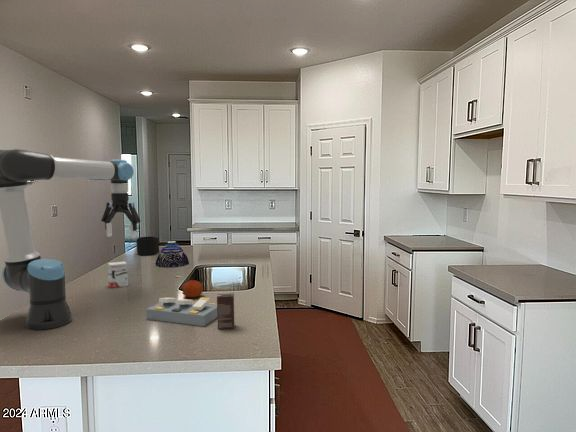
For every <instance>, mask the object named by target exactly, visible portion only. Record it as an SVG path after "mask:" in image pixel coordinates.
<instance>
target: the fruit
mask: <svg viewBox="0 0 576 432" xmlns="http://www.w3.org/2000/svg"><path fill="white" fill-rule="evenodd" d="M203 291H204V287H203V284H202V283H201V282H200V281H198V280H195V279H190V280H188V281H187V282H185V283H184V284H183V286H182V294H183V295H184V296H185V297H187V298H190V299H194V298H198V297H200V296H201V295H202V293H203Z"/></svg>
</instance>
